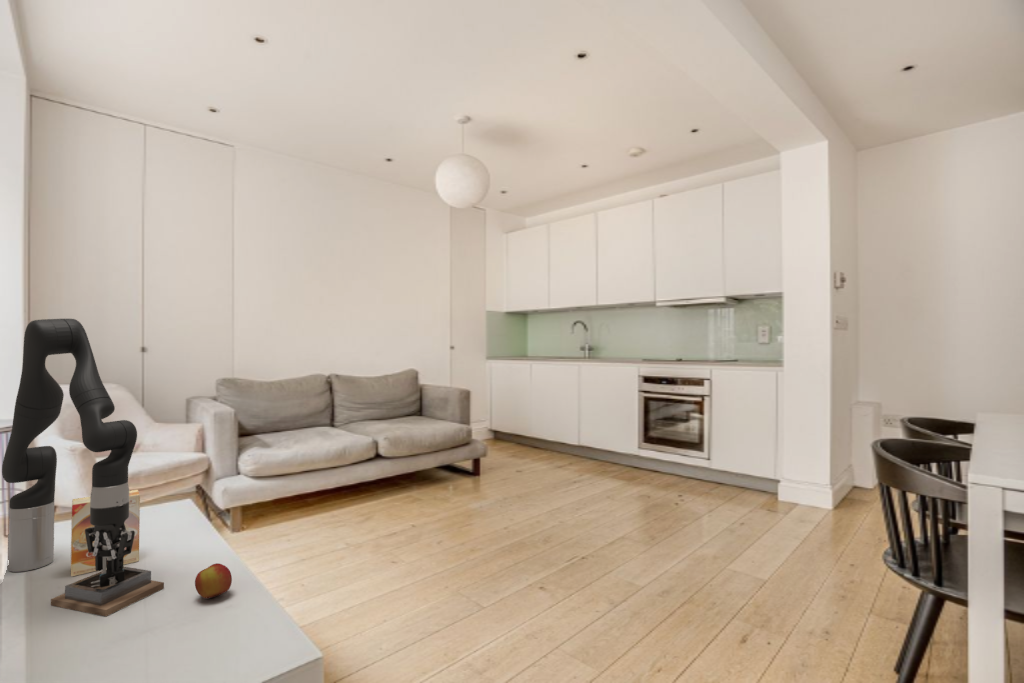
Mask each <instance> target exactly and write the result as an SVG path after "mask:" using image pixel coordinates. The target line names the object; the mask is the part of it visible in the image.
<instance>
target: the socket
mask: <svg viewBox="0 0 1024 683" xmlns="http://www.w3.org/2000/svg"><path fill="white" fill-rule="evenodd" d="M123 570H124V581H122V582H120V583H117V584H115V585H113V586H111V587H108V588H106V589H104V590H102V589H96V587H99V586H95V587H91V586H94V585H97V584H100V582H96V583H94V582H95V581H98V580H100V575H101V572H103V570H101V571H98V572H97V573H94V574H92V575H89V576H87V577H85V578H82V579H79V580H77V581H74V582H72V583H70V584H67V585H64V593H65V599H69V600H74V601H79V602H84V603H89V604H95V605H100V606H102V605H104V604H106V603H108V602H111V601H113V600H115V599H117V598H119V597H121V596H123V595H126V594H128V593H130V592H132V591H134V590H136V589H139V588H141V587H143V586H145V585H147V584H149V583H151V580H152V571H151V570H148V569H147V570H146V569H141V568H135V567H129V566H124V565H123ZM106 573H107V569H106ZM91 582H93V583H92V584H91Z"/></svg>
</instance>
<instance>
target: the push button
mask: <svg viewBox="0 0 1024 683" xmlns="http://www.w3.org/2000/svg"><path fill="white" fill-rule="evenodd" d="M117 544H119V542H118V543H115V544H113V545H117ZM118 549H119V548H116V551H117V553H118ZM98 552H99V556H100V557H103V570H102V571H103V572H101V571H100V572H101V575H100V580H98V581H95V582H94V583H96V582H100V584H97V585H94V586H91V587H95V586H100V587H106V586H109V585H114V584H117V583H120V582H122V581H124V570H122V571H121V572H119V573H116V574H112V559H113V558H112V555H111V551H110V550H108V548H107V544H103V547H101V548H100V549H98ZM106 558H108V560H107V573H106ZM92 583H93V582H91V584H92Z"/></svg>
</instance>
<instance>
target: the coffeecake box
mask: <svg viewBox="0 0 1024 683" xmlns="http://www.w3.org/2000/svg"><path fill="white" fill-rule="evenodd" d="M90 497H91V496H86V497H77V498H72V501H71V523H70V524H71V528H70V529H71V530H70V531H71V533H70V534H71V537H70V539H71V540H70V577H71V578H72V577H75V576H80V575H84V574H88V573H93V572H97V571H96V570H95V568H96V567H95V556H94V555H93V552H91V553H89V552H88V547H87V541H86V535H85V529H87V528H90V527H93V526H94V525H91V523H90ZM140 509H141V495H140V491H139V489H133V490H129V517H128V519H126V520H125V522H124V525H125V528H126V530H127V531H129V532H130V531H134V532H135V535H134V540H133V545H132V550H131V553H130V554H127V555H125V556H124V557H123V566H124V565H128V564H134V563H137V562H139V560H140V527H141V526H140V524H141V522H140V519H141V517H140V514H141V510H140ZM92 544H93V545H94V541H93V542H92ZM125 550H126V547H125ZM107 560H108V558H107ZM106 569H107V567H106Z"/></svg>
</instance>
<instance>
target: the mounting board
mask: <svg viewBox="0 0 1024 683" xmlns="http://www.w3.org/2000/svg"><path fill="white" fill-rule="evenodd" d="M114 585H115V584H114ZM111 586H113V585H109V586H106V587H100V586H99V587H96V589H102V590H104V589H106V588H108V587H111ZM164 589H165V582H163V581H158V580H157V581H156V580H153V579H151V583H149V584H147V585H145V586H143V587H141V588H139V589H136V590H134V591H132V592H130V593H128V594H126V595H123V596H121V597H119V598H117V599H115V600H113V601H111V602H108V603H106V604H104V605H102V606H100V605H95V604H89V603H84V602H79V601H74V600H69V599H65V592H64V593H62V594H60V595H58V596H55V597H53V598H52V597H51V598H50V606H51V607H52V606H53V607H57V608H62V609H67V610H72V611H77V612H81V613H86V614H92V615H97V616H102V617H108V616H111V615H113V614H114V613H117V612H118V611H120V610H122V609H124V608H127V607H128V606H130V605H131V606H132V605H133V604H134V603H137V602H138V601H141V600H144V599H145V598H147V597H149V596H151V595H153V594H155V593H157V592H159V591H162V590H164Z"/></svg>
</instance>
